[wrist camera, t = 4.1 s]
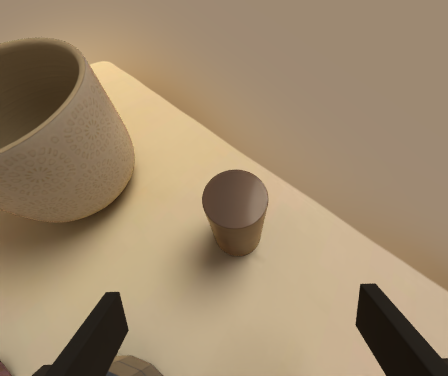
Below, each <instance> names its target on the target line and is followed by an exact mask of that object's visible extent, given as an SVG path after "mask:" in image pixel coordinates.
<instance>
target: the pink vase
mask: <svg viewBox="0 0 448 376" xmlns="http://www.w3.org/2000/svg"><path fill="white" fill-rule="evenodd" d="M0 376H11V374H10V372H9V371H8V370H7V369H6V367H5V366H4V365H3V364H2V362H1V361H0Z"/></svg>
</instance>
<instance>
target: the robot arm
mask: <svg viewBox="0 0 448 376" xmlns="http://www.w3.org/2000/svg"><path fill="white" fill-rule="evenodd" d="M356 327H357V328H358V330H359V332H360V333H361V335H362V337H363V338H364V340H365V341H366V343H367V345H368V346H369V348H370V350H371V351H372V353H373V355H374V356H375V358H376V360H377V361H378V363H379V365H380V366H381V368H382V370H383V371H384V373H385V375H386V376H448V358H445V359H442V358H441V357H440V356H439V355H438V354H437V353H436V351H435V350H434V349H433V348H432V347H431V346H430V345H429V344H428V342H427V341H426V340H425V339H424V338H423V337H422V336H421V335H420V333H419V332H418V331H417V330H416V329H415V328H414V327H413V325H412V324H411V323H410V322H409V321H408V320H407V319H406V318H405V316H404V315H403V314H402V313H401V312H400V311H399V310H398V308H397V307H396V306H395V305H394V304H393V303H392V302H391V301H390V299H389V298H388V297H387V296H386V295H385V294H384V293H383V292H382V290H381V289H380V288H379V287H378V286H377V285H376V284H360V292H359V300H358V309H357V317H356ZM127 332H128V326H127V322H126V318H125V313H124V309H123V305H122V301H121V297H120V293H119V292H106V293H105V294H104V296H103V297H102V298H101V300H100V301H99V302H98V304H97V305H96V307H95V308H94V309H93V311H92V312H91V313H90V315H89V316H88V317H87V319H86V320H85V321H84V323H83V324H82V325H81V327H80V328H79V329H78V331H77V332H76V333H75V335H74V336H73V337H72V339H71V340H70V342H69V343H68V344H67V346H66V347H65V348H64V350H63V351H62V352H61V354H60V355H59V356H58V358H57V359H56V360H55V362H54V363H53V364H52V365H43V366H42V367H41V368H40V369H39V370H38V371H36V372H35V373H34V374H33V375H32V376H106V374H107V372H108V370H109V368H110V366H111V364H112V362H113V360H114V358H115V356H116V354H117V352H118V350H119V348H120V346H121V344H122V342H123V340H124V338H125V336H126V334H127Z"/></svg>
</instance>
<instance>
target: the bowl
mask: <svg viewBox="0 0 448 376" xmlns="http://www.w3.org/2000/svg"><path fill="white" fill-rule="evenodd" d="M106 376H163V375H162V374H161V373H160V372H159V371H158V370H157V369H156V368H155V367H154V366H153V365H152V364H150V363H148V362H146V361H143V360H141V359H139V358H136V357H134V356H115V358H114V360H113V362H112V364H111V366H110V368H109V370H108V372H107V374H106Z"/></svg>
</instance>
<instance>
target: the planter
mask: <svg viewBox="0 0 448 376" xmlns="http://www.w3.org/2000/svg"><path fill="white" fill-rule="evenodd" d="M134 161H135V154H134V147H133V144H132V140H131V138H130V135H129V133H128V131H127V129H126V127H125V125H124V123H123V121H122V119H121V117H120V116H119V114H118V112H117V110H116V109H115V107H114V105H113V104H112V102H111V100H110V99H109V97H108V95H107V94H106V92H105V90H104V89H103V87H102V85H101V83H100V82H99V80H98V78H97V77H96V75H95V73H94V72H93V70H92V68H91V67H90V65H89V64H88V62H87V60H86V59H85V57H84V56H83V55H82V53H81V52H80V51H79V50H78V49H77V48H76V47H74V46H73V45H71V44H69V43H67V42H65V41H61V40H57V39H50V38H27V39H20V40H14V41H9V42H4V43H0V210H3V211H6V212H9V213H12V214H15V215H18V216H21V217H25V218H29V219H33V220H37V221H43V222H68V221H74V220H78V219H82V218H85V217H87V216H90V215H92V214H94V213H96V212H98V211H100V210H101V209H103V208H105V207H106V206H107V205H109V204H110V203H111V202H112V201H114V200H115V199H116V198H117V197H118V196H119V195H120V193H121V192H122V191H123V190H124V188H125V187H126V185H127V183H128V182H129V180H130V177H131V175H132V172H133V168H134Z"/></svg>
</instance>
